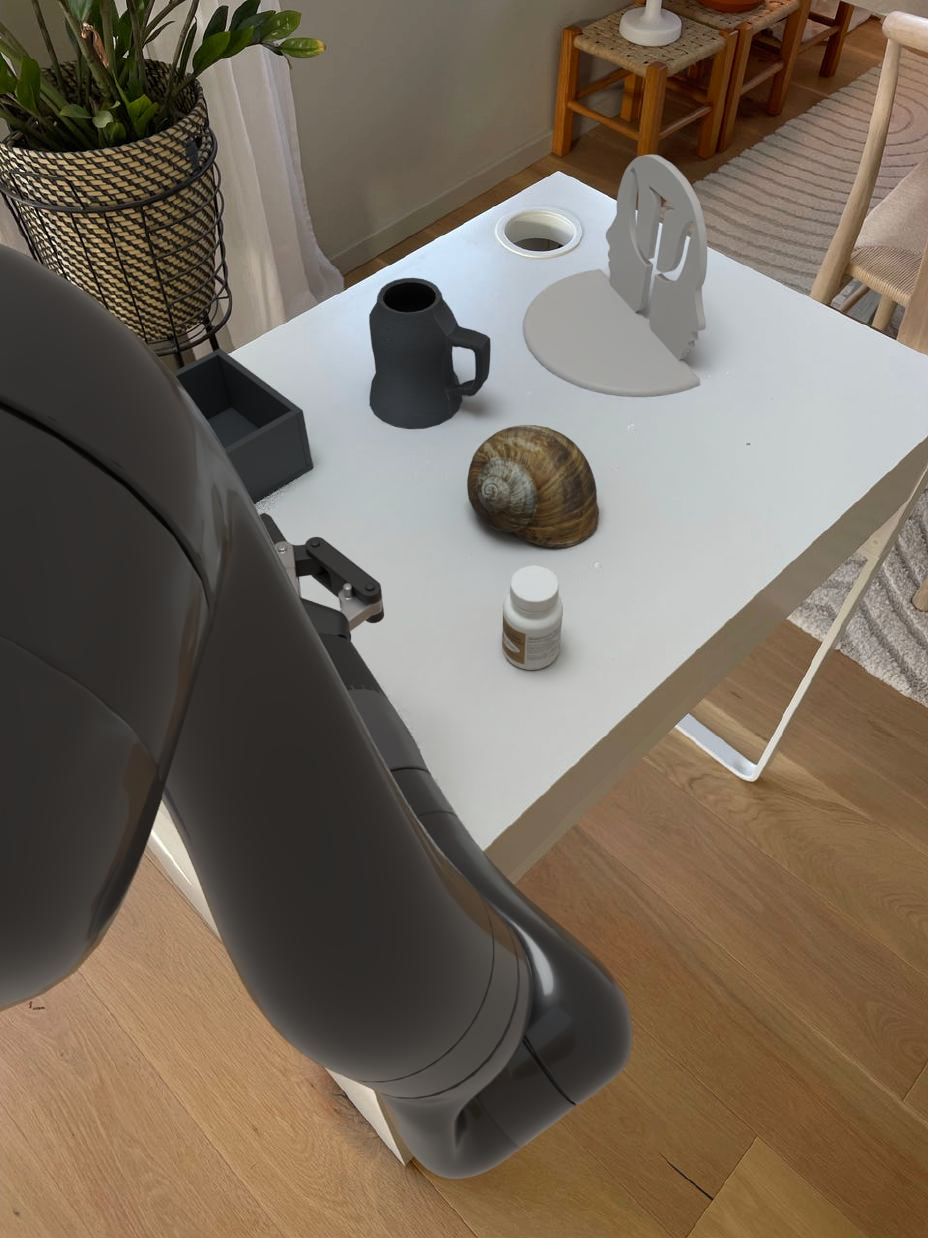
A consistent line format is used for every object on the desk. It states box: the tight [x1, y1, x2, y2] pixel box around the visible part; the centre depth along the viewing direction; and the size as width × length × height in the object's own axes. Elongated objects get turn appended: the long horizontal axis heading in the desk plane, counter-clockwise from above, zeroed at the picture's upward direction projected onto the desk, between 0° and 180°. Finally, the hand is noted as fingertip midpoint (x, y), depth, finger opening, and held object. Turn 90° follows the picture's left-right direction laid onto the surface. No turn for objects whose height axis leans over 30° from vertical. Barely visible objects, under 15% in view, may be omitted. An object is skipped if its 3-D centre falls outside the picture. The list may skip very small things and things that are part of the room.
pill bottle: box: [501, 565, 564, 671], centre depth 71 cm, size 4×4×8 cm
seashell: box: [466, 424, 600, 548], centre depth 79 cm, size 11×9×8 cm
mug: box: [368, 277, 492, 430], centre depth 88 cm, size 12×9×11 cm
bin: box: [172, 348, 314, 504], centre depth 84 cm, size 12×12×7 cm
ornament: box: [522, 154, 708, 398], centre depth 92 cm, size 22×13×17 cm, turn 22°
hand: (208, 537), depth 57 cm, fingers closed on supplement bottle, 4 cm apart
